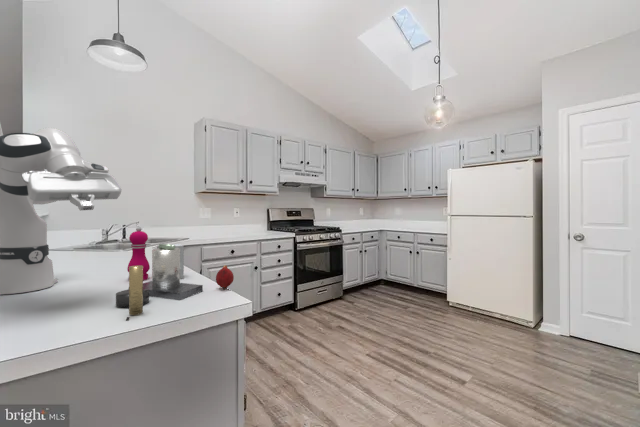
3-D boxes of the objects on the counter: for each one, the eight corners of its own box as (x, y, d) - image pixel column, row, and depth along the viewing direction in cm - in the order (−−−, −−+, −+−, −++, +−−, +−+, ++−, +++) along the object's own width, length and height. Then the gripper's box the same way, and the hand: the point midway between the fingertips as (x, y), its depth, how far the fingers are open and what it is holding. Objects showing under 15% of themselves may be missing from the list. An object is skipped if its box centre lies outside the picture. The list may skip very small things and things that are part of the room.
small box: (178, 275, 119) (178, 243, 119) (183, 278, 114) (184, 245, 114) (156, 278, 113) (156, 245, 113) (160, 282, 109) (161, 246, 108)
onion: (230, 291, 98) (230, 267, 98) (213, 291, 98) (213, 267, 98) (235, 286, 104) (235, 263, 103) (219, 286, 104) (219, 263, 103)
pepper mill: (145, 276, 117) (145, 226, 117) (152, 279, 112) (152, 227, 112) (124, 279, 111) (124, 226, 111) (131, 283, 107) (131, 227, 106)
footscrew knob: (117, 317, 72) (117, 269, 72) (115, 301, 85) (115, 259, 85) (154, 311, 77) (154, 265, 77) (147, 296, 90) (147, 257, 89)
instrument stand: (68, 311, 77) (68, 252, 77) (154, 285, 103) (154, 241, 103) (127, 320, 71) (127, 256, 71) (202, 291, 97) (203, 244, 97)
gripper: (21, 162, 74) (38, 202, 69) (113, 167, 91) (131, 199, 87) (17, 180, 76) (33, 219, 72) (107, 181, 94) (124, 213, 89)
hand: (87, 208), depth 80 cm, fingers closed
